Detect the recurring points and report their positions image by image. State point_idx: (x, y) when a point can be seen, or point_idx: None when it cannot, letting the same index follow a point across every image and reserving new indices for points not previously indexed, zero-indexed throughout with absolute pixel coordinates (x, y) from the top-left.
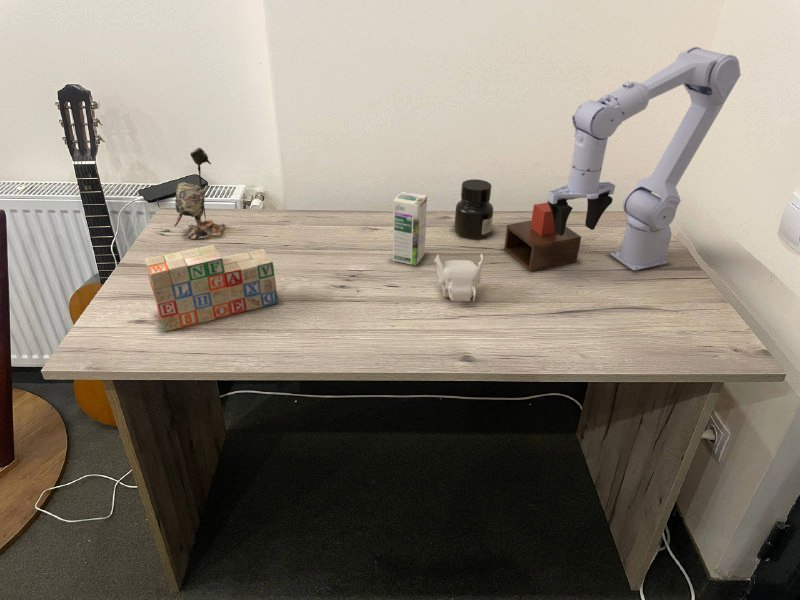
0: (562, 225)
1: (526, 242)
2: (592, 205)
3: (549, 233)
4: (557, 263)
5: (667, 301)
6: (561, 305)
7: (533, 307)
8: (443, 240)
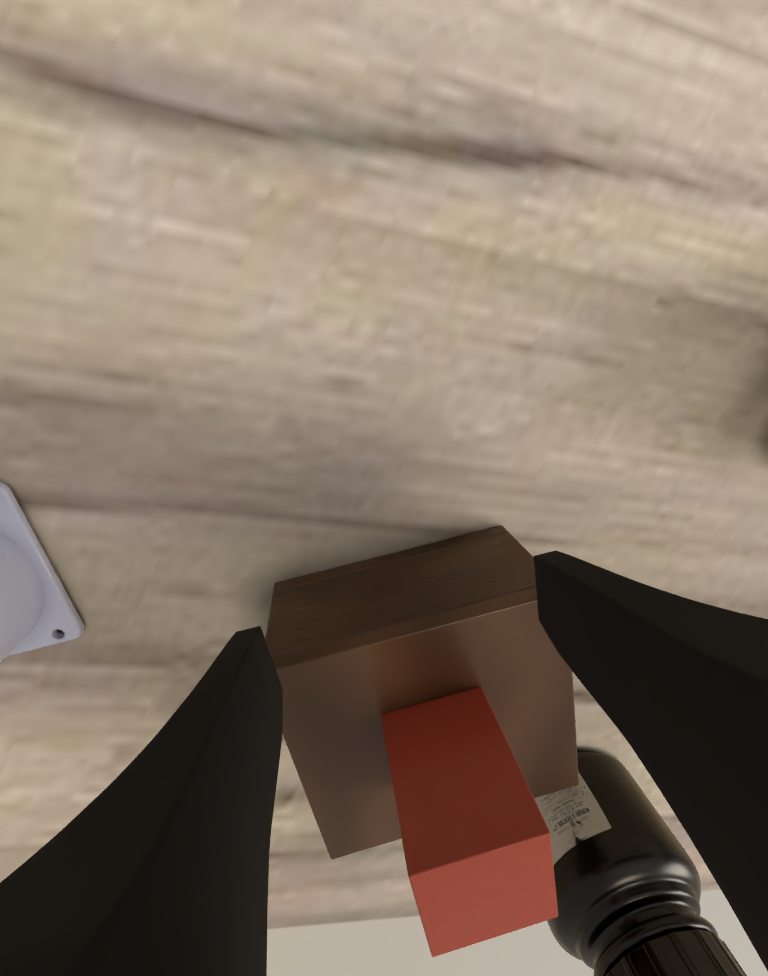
0: (638, 582)
1: None
2: (236, 902)
3: (432, 704)
4: (376, 563)
5: None
6: (504, 226)
7: (629, 237)
8: None
